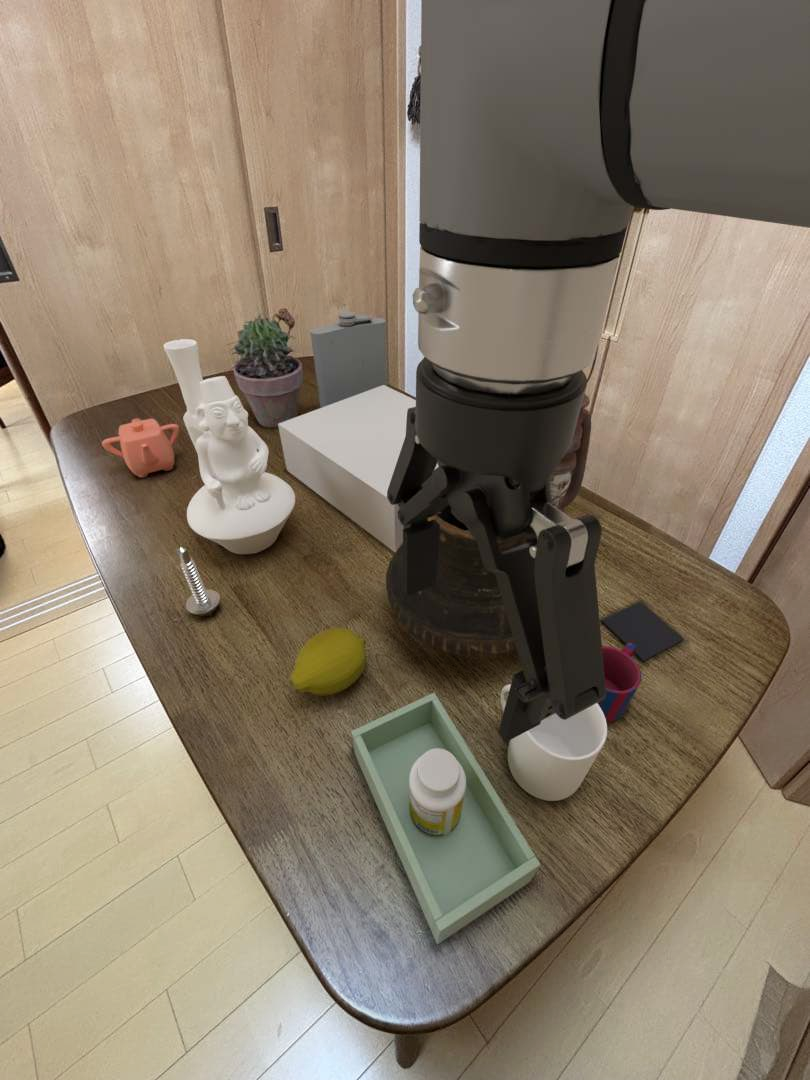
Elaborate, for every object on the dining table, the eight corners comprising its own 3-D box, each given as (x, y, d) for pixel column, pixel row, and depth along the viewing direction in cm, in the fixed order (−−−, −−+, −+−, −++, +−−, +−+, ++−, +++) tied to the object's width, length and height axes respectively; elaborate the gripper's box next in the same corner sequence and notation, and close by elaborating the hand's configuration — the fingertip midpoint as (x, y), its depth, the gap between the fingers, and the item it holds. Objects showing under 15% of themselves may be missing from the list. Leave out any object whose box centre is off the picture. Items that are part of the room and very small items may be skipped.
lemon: (355, 641, 69) (351, 604, 64) (382, 681, 64) (380, 645, 59) (284, 675, 65) (273, 639, 60) (306, 722, 60) (297, 687, 55)
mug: (520, 696, 62) (535, 646, 55) (597, 772, 55) (625, 726, 48) (471, 733, 59) (480, 685, 52) (546, 821, 51) (568, 778, 44)
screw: (223, 619, 72) (189, 625, 71) (223, 595, 76) (190, 602, 75) (198, 555, 64) (159, 562, 63) (199, 533, 67) (163, 539, 66)
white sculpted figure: (213, 586, 77) (140, 398, 56) (184, 515, 91) (117, 342, 70) (316, 548, 84) (286, 367, 63) (274, 487, 98) (238, 322, 77)
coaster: (683, 640, 69) (684, 639, 69) (642, 662, 66) (643, 660, 66) (639, 603, 74) (640, 601, 74) (600, 621, 72) (601, 619, 71)
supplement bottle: (449, 776, 54) (455, 732, 48) (468, 828, 50) (478, 788, 44) (402, 792, 53) (401, 749, 46) (418, 847, 49) (420, 808, 42)
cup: (559, 694, 63) (571, 664, 58) (605, 655, 67) (619, 624, 63) (603, 733, 59) (620, 704, 54) (649, 688, 63) (667, 658, 59)
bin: (530, 881, 47) (540, 864, 44) (437, 944, 44) (440, 931, 40) (432, 715, 60) (434, 692, 57) (354, 753, 57) (351, 731, 53)
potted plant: (219, 422, 119) (189, 315, 102) (282, 396, 130) (264, 296, 113) (265, 447, 110) (240, 334, 93) (328, 416, 121) (316, 310, 104)
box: (384, 428, 116) (383, 384, 109) (497, 490, 97) (504, 442, 90) (286, 470, 102) (277, 423, 95) (395, 552, 83) (394, 502, 76)
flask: (382, 407, 125) (378, 304, 108) (390, 415, 121) (387, 309, 105) (319, 423, 118) (304, 316, 102) (326, 431, 115) (312, 322, 99)
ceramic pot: (366, 581, 78) (357, 462, 63) (499, 545, 84) (518, 430, 70) (424, 712, 61) (430, 591, 46) (585, 654, 67) (636, 532, 52)
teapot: (106, 473, 102) (85, 430, 95) (147, 446, 110) (131, 405, 103) (160, 487, 98) (142, 443, 91) (198, 458, 106) (185, 416, 100)
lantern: (589, 533, 87) (656, 332, 64) (514, 559, 82) (556, 351, 59) (551, 500, 94) (598, 310, 71) (480, 522, 89) (506, 325, 66)
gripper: (325, 297, 28) (351, 558, 42) (674, 563, 11) (526, 849, 26) (437, 282, 31) (426, 534, 45) (857, 483, 14) (630, 784, 28)
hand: (462, 649), depth 35 cm, fingers open, 13 cm apart
